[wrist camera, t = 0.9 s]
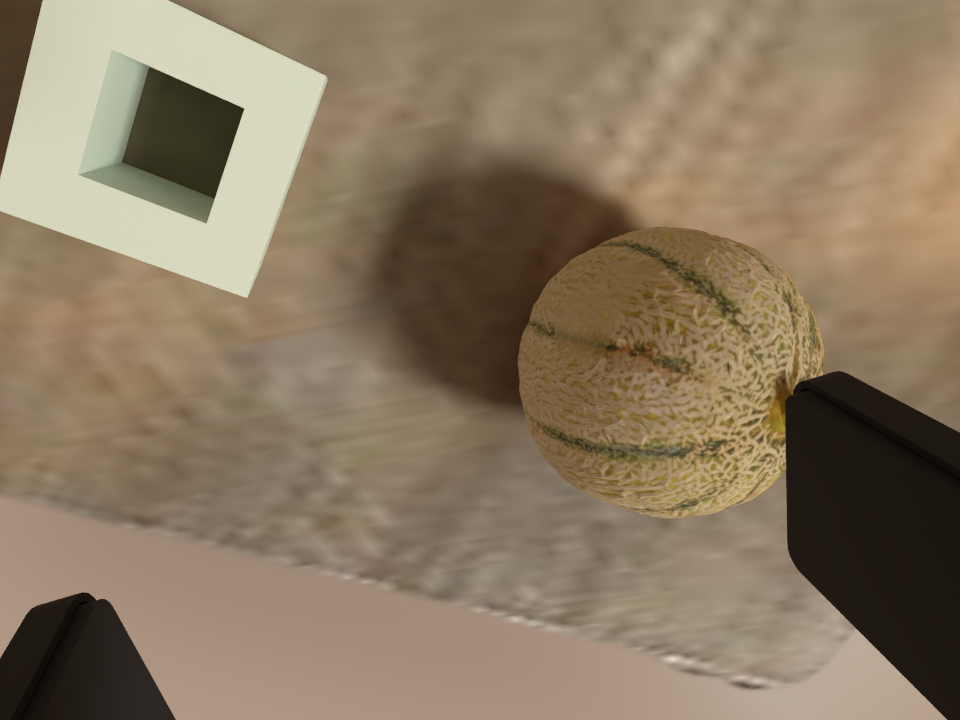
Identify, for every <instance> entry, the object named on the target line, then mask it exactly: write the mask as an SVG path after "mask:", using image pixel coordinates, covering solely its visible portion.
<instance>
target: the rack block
mask: <svg viewBox="0 0 960 720" xmlns="http://www.w3.org/2000/svg"><path fill="white" fill-rule="evenodd" d="M149 66H150V67H152V68H154V69H157V70H159V71H161V72H163V73H166V74H168V75H170V76H172V77H175V78H177V79H179V80H181V81H184V82H186V83H188V84H190V85H193V86H195V87H197V88H199V89H202V90H204V91H206V92H208V93H211V94H213V95H215V96H217V97H220V98H222V99H224V100H226V101H229V102H231V103H233V104H235V105H238V106H240V107H242V108H244V112H243V115H242V118H241V121H240V124H239V127H238V130H237V133H236V136H235V139H234V142H233V145H232V148H231V151H230V154H229V157H228V160H227V163H226V166H225V169H224V172H223V175H222V178H221V181H220V185H219V188H218V191H217V194H216V197H215V198H212V197H210V196H207V195H204V194H202V193H199V192H197V191H194V190H192V189H189V188H187V187H184V186H182V185H179V184H177V183H174V182H171V181H169V180H166V179H164V178H161V177H159V176H156V175H154V174H151V173H149V172H146V171H144V170H141V169H139V168H136V167H133V166H131V165H128V164H126V163H123V162H122V160H123V157H124V154H125V150H126V147H127V143H128V140H129V136H130V133H131V129H132V126H133V122H134V119H135V115H136V112H137V108H138V105H139V101H140V98H141V94H142V91H143V87H144V84H145V80H146V77H147V73H148V70H149ZM326 83H327V77H326V76H325V75H323V74H321V73H319V72H316V71H314V70H312V69H310V68H308V67H306V66H304V65H302V64H300V63H298V62H296V61H293V60H291V59H289V58H287V57H285V56H283V55H281V54H279V53H277V52H275V51H273V50H271V49H268V48H266V47H264V46H262V45H260V44H258V43H256V42H254V41H252V40H250V39H248V38H245V37H243V36H241V35H239V34H237V33H235V32H233V31H231V30H229V29H227V28H225V27H223V26H220V25H218V24H216V23H214V22H212V21H210V20H208V19H206V18H204V17H202V16H200V15H197V14H195V13H193V12H191V11H189V10H187V9H185V8H183V7H181V6H179V5H177V4H175V3H172V2H170V1H168V0H43V1H42V6H41V10H40V14H39V18H38V22H37V26H36V31H35V35H34V39H33V43H32V47H31V52H30V56H29V60H28V64H27V68H26V72H25V77H24V81H23V85H22V89H21V93H20V97H19V102H18V106H17V110H16V114H15V118H14V123H13V127H12V131H11V135H10V139H9V143H8V148H7V152H6V156H5V160H4V164H3V168H2V173H1V177H0V211H2V212H4V213H7V214H10V215H13V216H16V217H19V218H21V219H24V220H27V221H30V222H33V223H36V224H38V225H41V226H44V227H47V228H50V229H53V230H56V231H58V232H61V233H64V234H67V235H70V236H73V237H75V238H78V239H81V240H84V241H87V242H90V243H92V244H95V245H98V246H101V247H104V248H107V249H109V250H112V251H115V252H118V253H121V254H124V255H126V256H129V257H132V258H135V259H138V260H141V261H144V262H146V263H149V264H152V265H155V266H158V267H161V268H163V269H166V270H169V271H172V272H175V273H178V274H180V275H183V276H186V277H189V278H192V279H195V280H197V281H200V282H203V283H206V284H209V285H212V286H214V287H217V288H220V289H223V290H226V291H229V292H232V293H234V294H237V295H240V296H243V297H246V298H247V297H248V295H249V292H250V290H251V288H252V285H253V283H254V281H255V279H256V276H257V274H258V272H259V270H260V267H261V265H262V262H263V259H264V256H265V253H266V251H267V248H268V245H269V242H270V240H271V237H272V234H273V231H274V228H275V226H276V223H277V220H278V217H279V214H280V212H281V209H282V206H283V203H284V200H285V198H286V195H287V192H288V189H289V186H290V184H291V181H292V178H293V175H294V172H295V170H296V167H297V164H298V161H299V158H300V156H301V153H302V150H303V147H304V145H305V142H306V139H307V136H308V133H309V131H310V128H311V125H312V122H313V119H314V117H315V114H316V111H317V108H318V105H319V103H320V100H321V97H322V94H323V91H324V89H325V86H326Z"/></svg>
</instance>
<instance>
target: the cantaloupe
mask: <svg viewBox="0 0 960 720" xmlns="http://www.w3.org/2000/svg"><path fill="white" fill-rule="evenodd" d="M518 369H519V378H520V386H519V392H520V397H521V400H522V404H523V409H524V413H525V420H526V423H527V426H528V429H529V432H530V434H531V435H532V437H533V439H534V441H535V442H536V444H537V446H538V447H539V449H540V451H541V452H542V454H543V457H544V459H545V460H546V461H547V462H548V463H549V464H550V465H551V466H552V467H553V468H554V469H555V470H557V472H558V474H559V475H560V476H561V477H562V478H563V479H564V480H566V481H567V482H569V483H570V484H571V485H572V486H574V487H576V488H578V489H580V490H582V491H583V492H585V493H587V494H589V495H590V496H592V497H594V498H596V499H599V500H602V501H605V502H608V503H611V504H613V505H616V506H618V507H620V508H623V509H625V510H629V511H634V512H636V513H638V514H644V515H647V516H652V517H661V518H664V519H667V518H684V517H690V516H698V515H708V514H713V513H715V512H718V511H720V510H723V509H726V508H729V507H732V506H735V505H738V504H742V503H745V502H747V501H749V500H752V499H753V498H754V497H756V496H757V495H759V494H760V493H762V492H763V491H764V490H766V489H767V488H769V487H770V486H771V485H772V484H773V483H774V482H775V481H776V480H777V479H778V478H779V477H780V476H781V475H783V474H784V473H785V472H786V435H785V402H786V400H787V398H788V397H789V396H790V395H793V390H794V388H795V386H796V385H797V384H798V383H799V382H801V381H804V380H808V379H811V378H815V377H818V376H821V375H824V346H823V342H822V338H821V334H820V331H819V327H818V325H817V322H816V320H815V317H814V315H813V313H812V311H811V309H810V307H809V305H808V304H807V302H806V301H805V300H804V298H803V296H802V295H801V293H800V291H799V290H798V288H797V286H796V285H795V283H794V282H793V281H792V280H791V278H790V277H789V276H788V275H787V274H786V273H785V271H784V270H783V269H781V268H780V267H779V266H778V265H777V264H776V263H775V262H774V261H772V260H771V259H769V258H768V257H767V256H765V255H764V254H762V253H761V252H759V251H758V250H756V249H754V248H751V247H749V246H747V245H744V244H741V243H738V242H736V241H733V240H730V239H728V238H721V237H718V236H715V235H710V234H708V233H707V232H704V231H698V230H693V229H685V228H669V227H655V228H648V229H640V230H635V231H632V232H629V233H625V234H623V235H621V236H618V237H616V238H612V239H610V240H607V241H605V242H603V243H601V244H600V245H598V246H597V247H596V248H593V249H590V250H589V251H587V252H585V253H582V254H580V255H579V256H576V257H574V258H573V259H572V260H570V262H569V263H568V264H567V265H566V266H564V267H563V268H562V269H561V270H560V271H559V272H558V273H557V274H556V275H555V276H554V277H553V278H551V279H550V280H549V282H548V283H547V285H546V287H544V289H543V291H542V293H541V295H540V297H539V298H538V300H537V301H536V302H535V304H534V306H533V309H532V312H531V315H530V319H529V323H528V325H527V326H526V328H525V330H524V332H523V335H522V339H521V342H520V350H519V355H518Z"/></svg>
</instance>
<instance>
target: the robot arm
mask: <svg viewBox="0 0 960 720" xmlns="http://www.w3.org/2000/svg"><path fill="white" fill-rule="evenodd" d="M785 435H786V488H787V541H788V550H789V554H790V557H791V559H792V561H793V563H794V565H795V566H796V568H797V569H798V570H799V571H800V573H801V574H802V575H803V576H804V577H805V578H806V579H807V580H808V581H809V582H810V583H811V584H812V585H813V586H814V587H815V588H816V589H817V590H818V591H819V592H820V593H821V594H822V595H823V596H824V597H825V598H826V599H827V600H828V601H829V602H830V603H831V604H832V605H833V606H834V607H835V608H836V609H837V610H838V611H839V612H840V613H841V614H842V615H843V616H844V617H845V618H846V619H847V620H848V621H849V622H850V623H851V624H852V625H853V626H854V627H855V628H856V629H857V630H858V631H859V632H860V633H861V634H862V635H863V636H864V637H865V638H866V639H868V641H869V642H870V643H871V644H872V645H873V646H874V647H875V648H876V649H877V650H878V651H880V653H881V654H882V655H883V656H885V658H886V659H887V660H888V661H889V662H890V663H891V664H892V665H893V666H895V668H896V669H897V670H898V671H899V672H900V673H901V674H902V675H903V676H904V677H905V678H906V679H907V680H908V681H909V682H910V683H911V684H913V686H914V687H915V688H916V689H917V690H918V691H919V692H920V693H921V694H922V695H923V696H924V697H925V698H926V699H927V700H928V701H929V702H930V703H931V704H932V705H933V706H934V707H935V708H936V709H937V710H938V711H939V712H940V713H941V714H942V715H943V716H944V717H945V718H946V719H947V720H960V433H959V432H957V431H955V430H953V429H952V428H950V427H948V426H946V425H944V424H942V423H940V422H938V421H936V420H934V419H933V418H931V417H929V416H927V415H925V414H923V413H921V412H919V411H917V410H915V409H913V408H912V407H910V406H908V405H906V404H904V403H902V402H900V401H898V400H896V399H894V398H893V397H891V396H889V395H887V394H885V393H883V392H881V391H879V390H877V389H875V388H873V387H872V386H870V385H868V384H866V383H864V382H862V381H860V380H858V379H856V378H854V377H853V376H851V375H849V374H847V373H844V372H841V371H837V372H832V373H828V374H825V375H821V376H818V377H815V378H811V379H808V380H804V381H801V382H799V383H798V384H797V385H796V386H795V388H794V390H793V395H790V396H789V397H788V398H787V400H786V402H785ZM0 720H176V719H175V718H174V716H173V714H172V712H171V710H170V709H169V707H168V705H167V703H166V701H165V700H164V698H163V696H162V694H161V692H160V691H159V689H158V687H157V686H156V684H155V682H154V680H153V678H152V676H151V675H150V673H149V671H148V669H147V667H146V666H145V664H144V662H143V660H142V658H141V656H140V655H139V653H138V651H137V649H136V647H135V646H134V644H133V642H132V640H131V639H130V637H129V635H128V633H127V631H126V630H125V628H124V626H123V624H122V622H121V621H120V619H119V617H118V615H117V613H116V611H115V610H114V608H113V606H112V605H111V604H110V602H108V601H107V600H105V599H100V600H96V599H95V598H94V597H93V596H92V595H90V594H89V593H79V594H75V595H72V596H69V597H65V598H62V599H58V600H55V601H51V602H48V603H45V604H41V605H38V606H36V607H34V608H32V609H31V610H30V611H29V612H28V614H27V615H26V616H25V618H24V620H23V621H22V623H21V625H20V627H19V628H18V630H17V631H16V633H15V635H14V637H13V638H12V640H11V641H10V643H9V645H8V646H7V648H6V650H5V651H4V653H3V655H2V656H1V658H0Z"/></svg>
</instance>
